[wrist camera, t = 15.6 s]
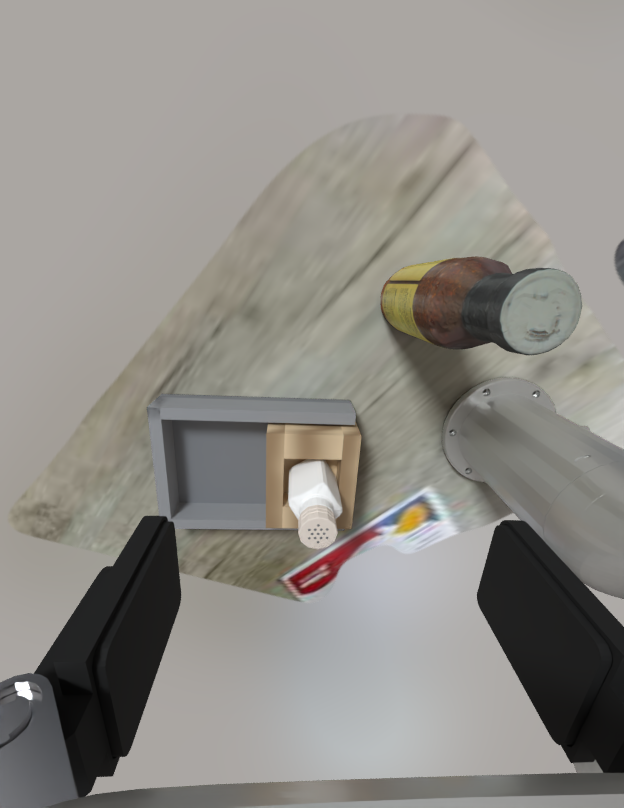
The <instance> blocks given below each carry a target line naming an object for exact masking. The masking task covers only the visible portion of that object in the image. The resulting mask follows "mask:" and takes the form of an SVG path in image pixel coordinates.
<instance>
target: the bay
mask: <svg viewBox="0 0 624 808" xmlns="http://www.w3.org/2000/svg"><path fill="white" fill-rule="evenodd" d="M147 412H148V421H149V430H150V439H151V447H152V456H153V465H154V474H155V482H156V491H157V500H158V509H159V516H166V517H167V518H168V521H170V522H174V526H175V529H251V530H298V528H266V433H267V427H268V422H269V423H304V424H339V425H355V419H356V412H355V410H354V408H353V405H352V403H351V401H350V400H332V399H302V398H271V397H241V396H210V395H179V394H161V395H160V396H159V397H158V398H157V399H155V400H154V401H153V402H152V403H151V404H150V405H149V406H148V407H147ZM337 530H343V531H344V530H345V529H337Z"/></svg>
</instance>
